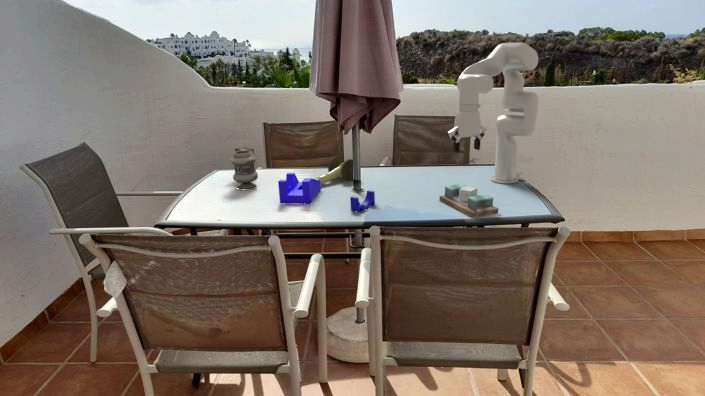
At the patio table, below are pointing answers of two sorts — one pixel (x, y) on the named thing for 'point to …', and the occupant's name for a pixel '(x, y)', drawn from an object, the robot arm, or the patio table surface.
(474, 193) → the small box
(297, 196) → the bracket
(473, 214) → the board
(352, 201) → the blue u-shaped piece
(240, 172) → the apothecary jar
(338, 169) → the cannon
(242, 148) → the grey brown jug
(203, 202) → the patio table surface
